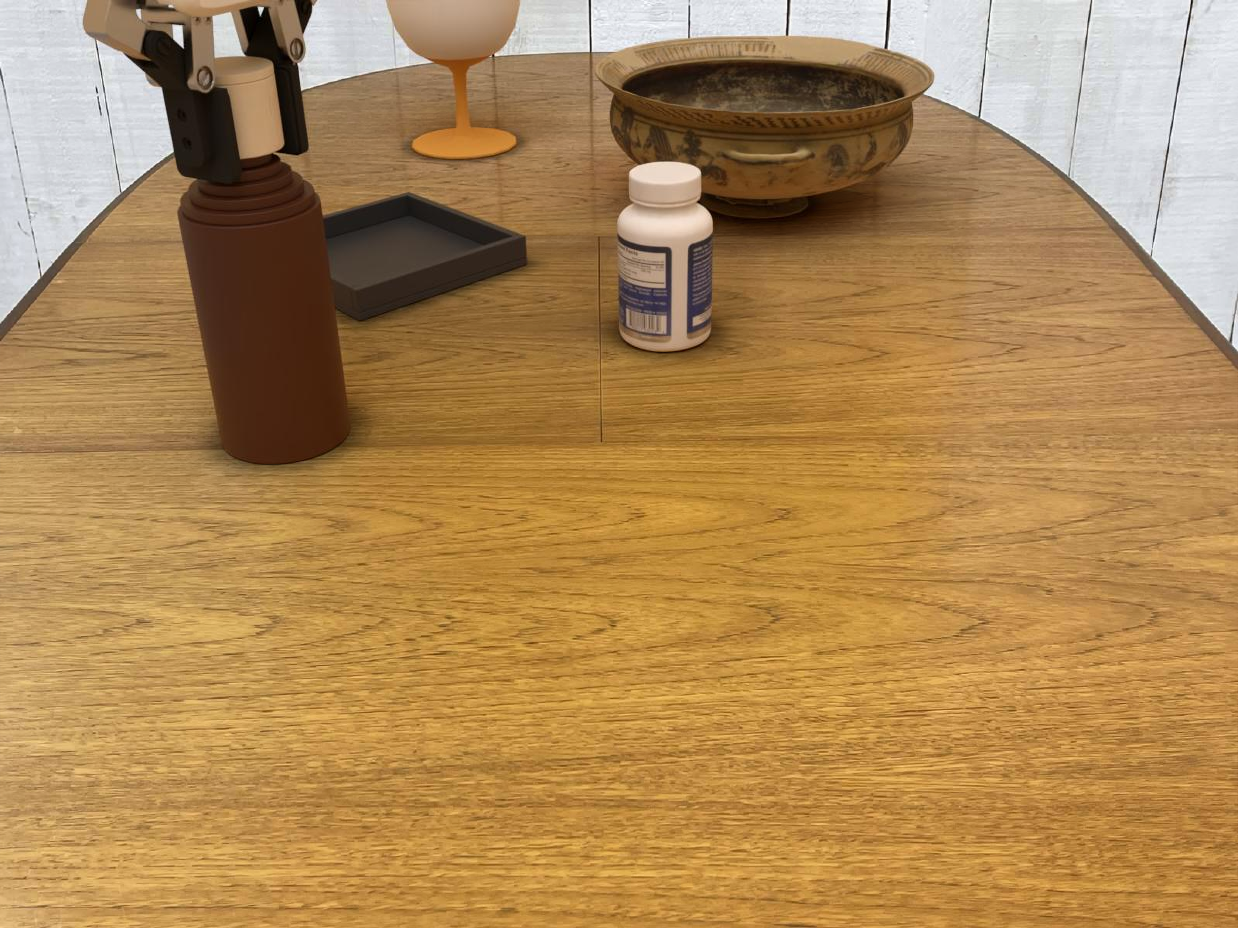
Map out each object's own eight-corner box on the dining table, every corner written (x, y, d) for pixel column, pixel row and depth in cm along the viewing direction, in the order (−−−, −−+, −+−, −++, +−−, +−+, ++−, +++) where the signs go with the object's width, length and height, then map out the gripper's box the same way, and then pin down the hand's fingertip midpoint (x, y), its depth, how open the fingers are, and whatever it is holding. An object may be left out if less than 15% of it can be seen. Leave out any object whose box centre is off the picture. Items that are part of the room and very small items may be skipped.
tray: (249, 264, 84) (244, 236, 83) (411, 217, 92) (408, 191, 91) (360, 321, 76) (356, 290, 75) (527, 264, 84) (526, 235, 83)
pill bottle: (691, 311, 77) (694, 152, 72) (724, 346, 72) (730, 180, 67) (606, 323, 75) (603, 162, 70) (635, 359, 71) (634, 191, 66)
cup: (542, 127, 113) (534, -79, 104) (519, 165, 103) (508, -58, 94) (414, 124, 114) (396, -79, 105) (379, 162, 104) (356, -59, 95)
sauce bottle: (198, 432, 64) (127, 82, 55) (307, 392, 68) (256, 59, 59) (263, 478, 60) (198, 108, 51) (375, 432, 64) (332, 81, 55)
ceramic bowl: (946, 280, 80) (967, 124, 75) (575, 272, 82) (571, 120, 77) (896, 146, 106) (909, 23, 101) (615, 142, 108) (613, 22, 103)
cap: (302, 140, 57) (291, 59, 56) (253, 163, 54) (239, 79, 52) (229, 132, 59) (216, 53, 57) (176, 155, 55) (161, 72, 54)
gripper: (67, -321, 40) (177, 234, 49) (379, -310, 53) (419, 127, 62) (-94, -315, 43) (39, 208, 52) (239, -306, 55) (297, 111, 65)
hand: (245, 160), depth 57 cm, fingers closed on cap, 3 cm apart
